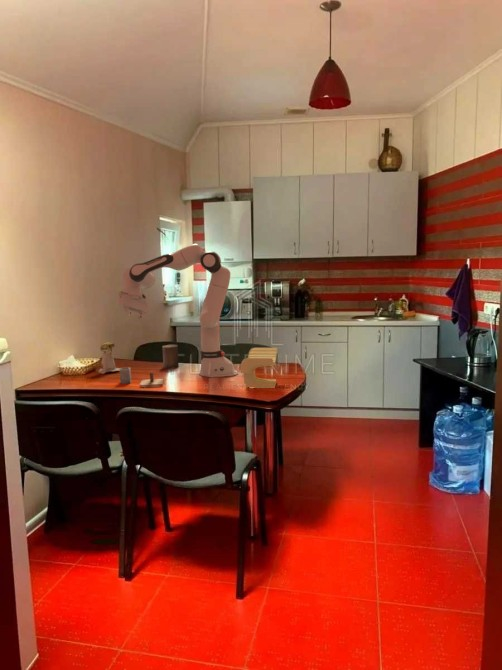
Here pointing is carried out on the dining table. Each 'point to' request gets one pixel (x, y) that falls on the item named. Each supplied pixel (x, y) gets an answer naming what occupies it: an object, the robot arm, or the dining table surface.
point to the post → (152, 382)
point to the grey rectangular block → (125, 375)
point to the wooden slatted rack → (255, 360)
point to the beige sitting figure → (107, 358)
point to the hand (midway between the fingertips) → (134, 317)
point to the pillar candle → (170, 356)
